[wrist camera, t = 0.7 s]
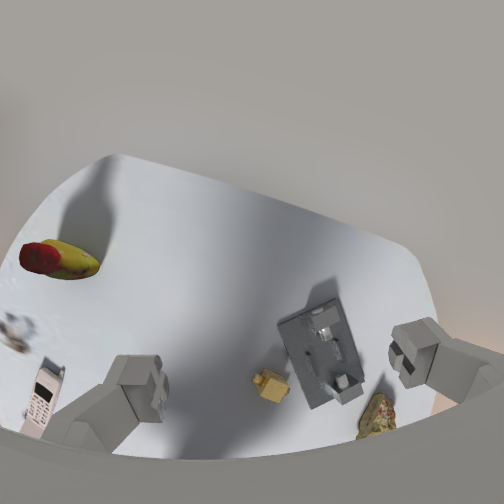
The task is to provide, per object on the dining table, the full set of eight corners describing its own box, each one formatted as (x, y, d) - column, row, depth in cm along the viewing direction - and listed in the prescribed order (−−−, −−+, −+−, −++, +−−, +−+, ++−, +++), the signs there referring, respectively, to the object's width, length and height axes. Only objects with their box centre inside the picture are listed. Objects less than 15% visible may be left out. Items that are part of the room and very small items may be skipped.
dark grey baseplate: (363, 381, 58) (374, 388, 53) (310, 409, 56) (318, 419, 51) (335, 296, 58) (346, 298, 53) (276, 323, 56) (282, 328, 51)
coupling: (289, 378, 56) (296, 388, 51) (279, 395, 56) (286, 406, 50) (257, 365, 55) (262, 374, 50) (247, 382, 55) (251, 392, 49)
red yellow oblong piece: (108, 255, 52) (61, 248, 33) (100, 287, 52) (50, 295, 32) (59, 237, 51) (1, 223, 31) (51, 268, 50) (-9, 266, 31)
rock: (360, 395, 63) (379, 390, 55) (390, 401, 62) (411, 396, 54) (349, 441, 57) (367, 442, 48) (380, 445, 56) (401, 446, 48)
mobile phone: (15, 442, 40) (33, 364, 43) (25, 431, 46) (46, 356, 49) (35, 457, 41) (56, 381, 44) (44, 445, 47) (68, 372, 50)
